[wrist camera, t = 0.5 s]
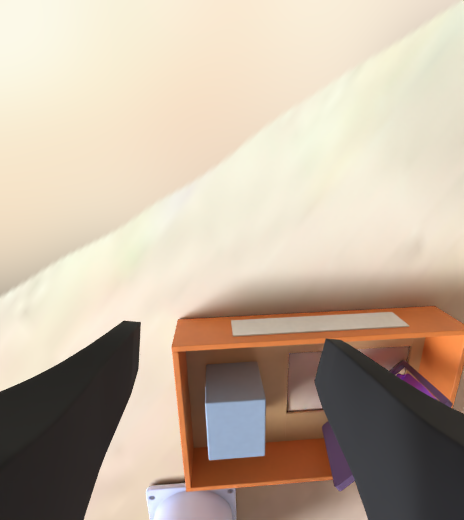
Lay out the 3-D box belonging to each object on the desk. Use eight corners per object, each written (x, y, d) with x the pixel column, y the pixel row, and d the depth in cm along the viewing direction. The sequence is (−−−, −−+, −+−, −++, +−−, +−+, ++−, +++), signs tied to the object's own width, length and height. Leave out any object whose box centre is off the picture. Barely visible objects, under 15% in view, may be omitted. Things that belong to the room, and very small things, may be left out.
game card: (347, 502, 18) (464, 414, 17) (289, 437, 19) (398, 348, 18) (330, 436, 25) (413, 369, 24) (288, 390, 26) (367, 322, 24)
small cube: (257, 411, 24) (265, 456, 21) (209, 414, 24) (208, 460, 20) (257, 360, 23) (266, 399, 19) (206, 363, 23) (204, 403, 19)
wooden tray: (409, 432, 26) (437, 471, 23) (189, 449, 25) (186, 492, 22) (436, 304, 23) (475, 328, 19) (177, 317, 21) (171, 345, 18)
